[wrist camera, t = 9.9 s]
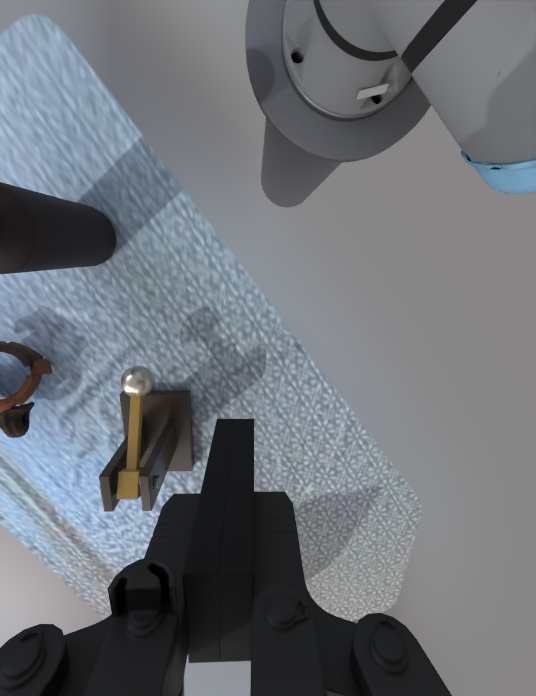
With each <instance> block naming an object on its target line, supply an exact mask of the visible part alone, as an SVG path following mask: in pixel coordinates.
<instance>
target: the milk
mask: <svg viewBox="0 0 536 696" xmlns="http://www.w3.org/2000/svg"><path fill="white" fill-rule="evenodd" d="M250 687H251V661H237V662H208V663H189V660H188V655H187V661H186V667H185V673H184V696H250Z"/></svg>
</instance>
